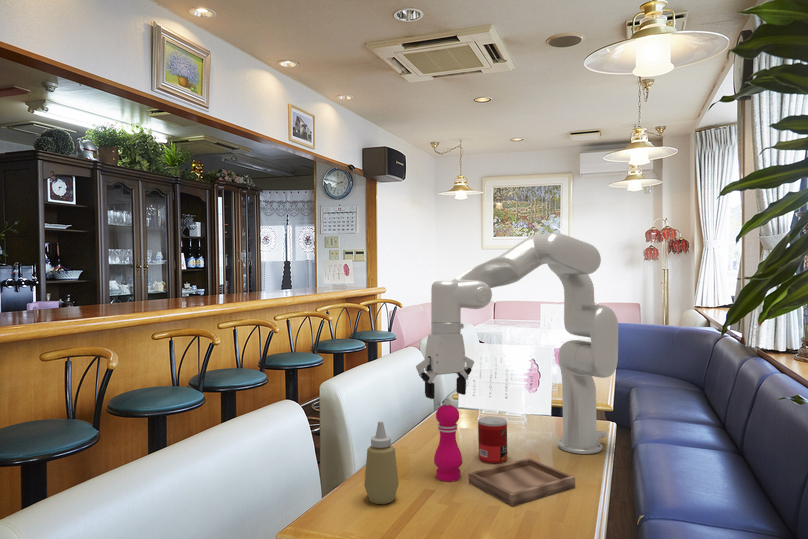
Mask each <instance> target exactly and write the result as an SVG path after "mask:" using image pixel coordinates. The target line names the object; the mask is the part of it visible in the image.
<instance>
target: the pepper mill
mask: <svg viewBox="0 0 808 539" xmlns="http://www.w3.org/2000/svg"><path fill="white" fill-rule="evenodd" d="M451 403H452V402H451V400H450V399H449V398H446V399H445V400H444V401H443V405H440V406H439V407H438V408H437V409H436V412H435V419H436V421H437V422H438V424H437V430H438V432H439V442H438V445H437V448H436V450H435V452H434V456H433V457H434V458H433V461H434V462H433V463H434V465H435V466H436V467H437V469H436V471H435V477H436V479H437V480H439V481H442V482H456V481H458V480H460V479H461V478H462V477H461V473H462V472H461V469H460V468H461V466H462V463H463V456H462V452H461V450H460V448H459V445H458V443H457V435H456V434H457V431H458V424H457V422H458V421H459V419H460V412H459V410H458V408H457V407H456V406H454V405H451Z"/></svg>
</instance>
